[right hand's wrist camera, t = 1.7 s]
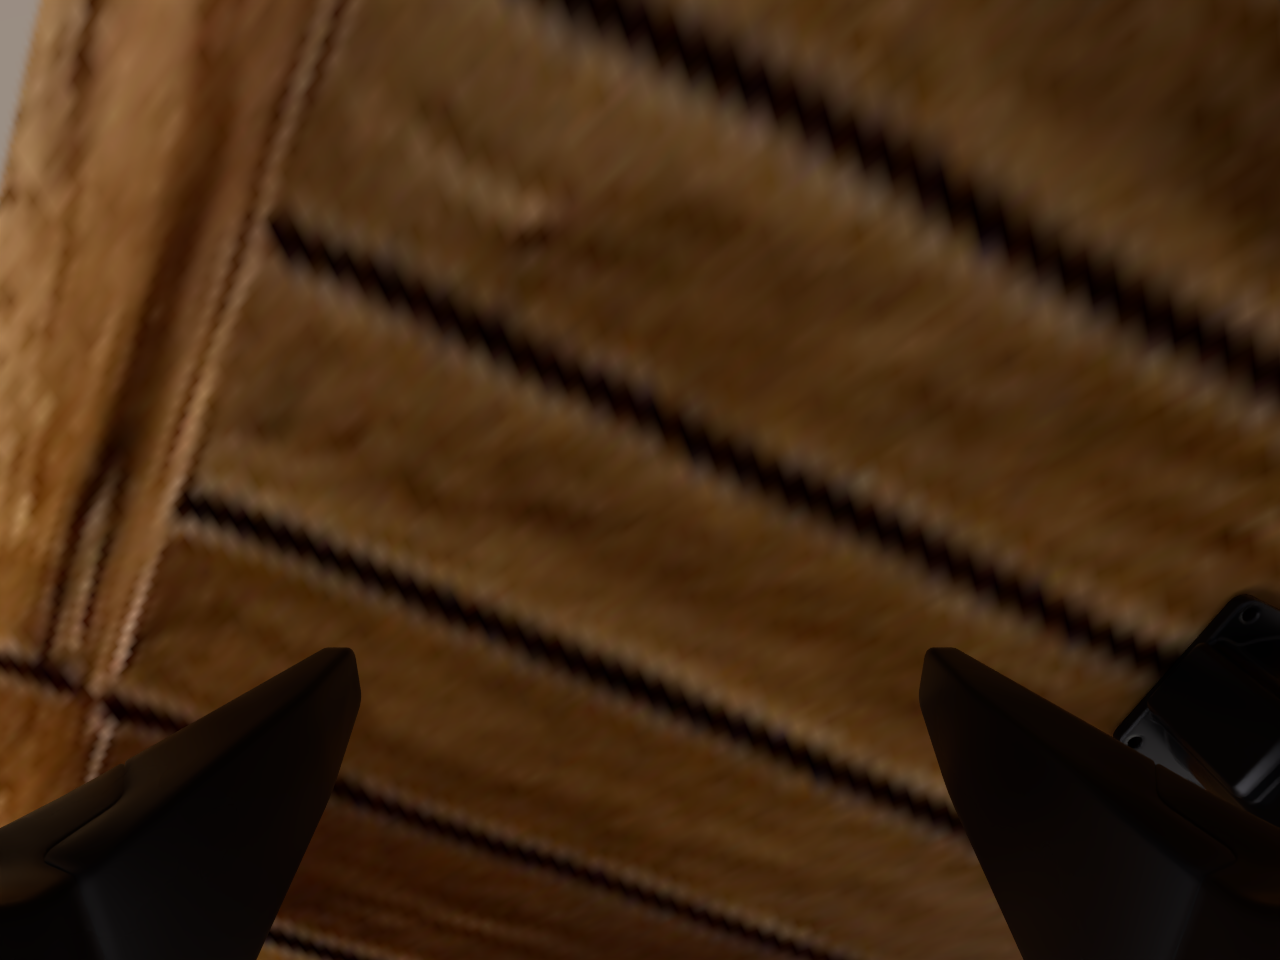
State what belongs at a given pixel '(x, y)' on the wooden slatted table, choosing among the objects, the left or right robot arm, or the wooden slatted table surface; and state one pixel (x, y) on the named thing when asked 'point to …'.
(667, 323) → the wooden slatted table surface
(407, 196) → the wooden slatted table surface
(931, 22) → the wooden slatted table surface
